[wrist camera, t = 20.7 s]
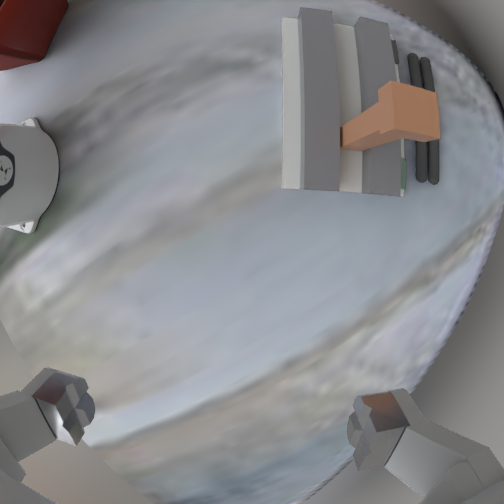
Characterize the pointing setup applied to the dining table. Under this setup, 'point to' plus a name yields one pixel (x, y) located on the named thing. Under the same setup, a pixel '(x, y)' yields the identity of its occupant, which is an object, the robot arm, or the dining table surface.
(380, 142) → the breaker handle
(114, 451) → the dining table surface
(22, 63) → the plant pot
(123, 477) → the dining table surface
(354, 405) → the robot arm
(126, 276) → the dining table surface
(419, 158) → the twin grey rods
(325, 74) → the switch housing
